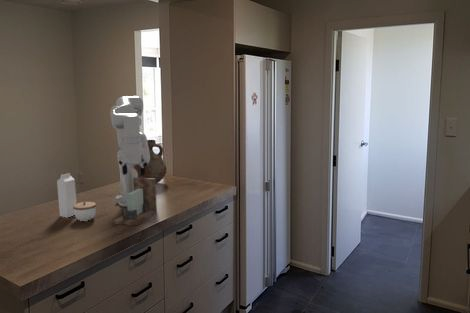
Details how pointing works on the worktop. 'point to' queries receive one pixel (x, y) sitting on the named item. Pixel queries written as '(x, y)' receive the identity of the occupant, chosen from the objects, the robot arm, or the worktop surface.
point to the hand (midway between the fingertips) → (134, 174)
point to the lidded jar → (84, 210)
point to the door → (135, 201)
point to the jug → (153, 164)
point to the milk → (66, 195)
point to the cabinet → (148, 201)
